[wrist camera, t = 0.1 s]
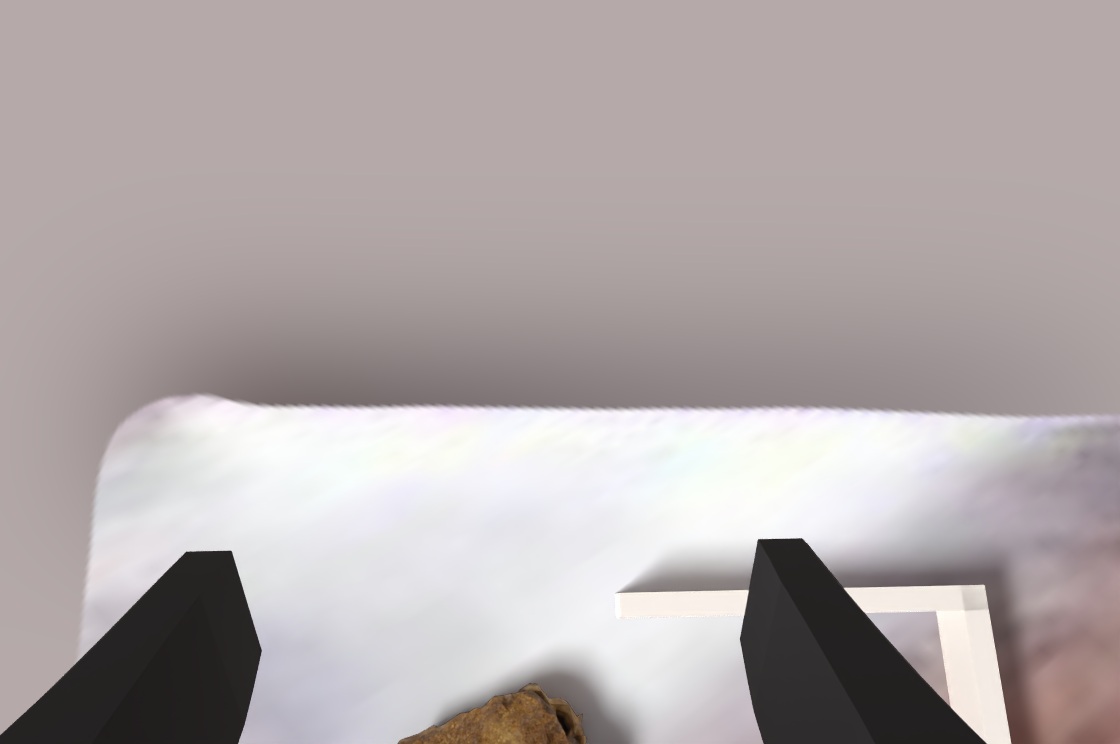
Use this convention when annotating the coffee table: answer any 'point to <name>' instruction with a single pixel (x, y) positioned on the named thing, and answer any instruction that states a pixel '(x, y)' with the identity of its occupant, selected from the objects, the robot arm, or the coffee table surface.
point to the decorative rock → (510, 722)
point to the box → (955, 606)
